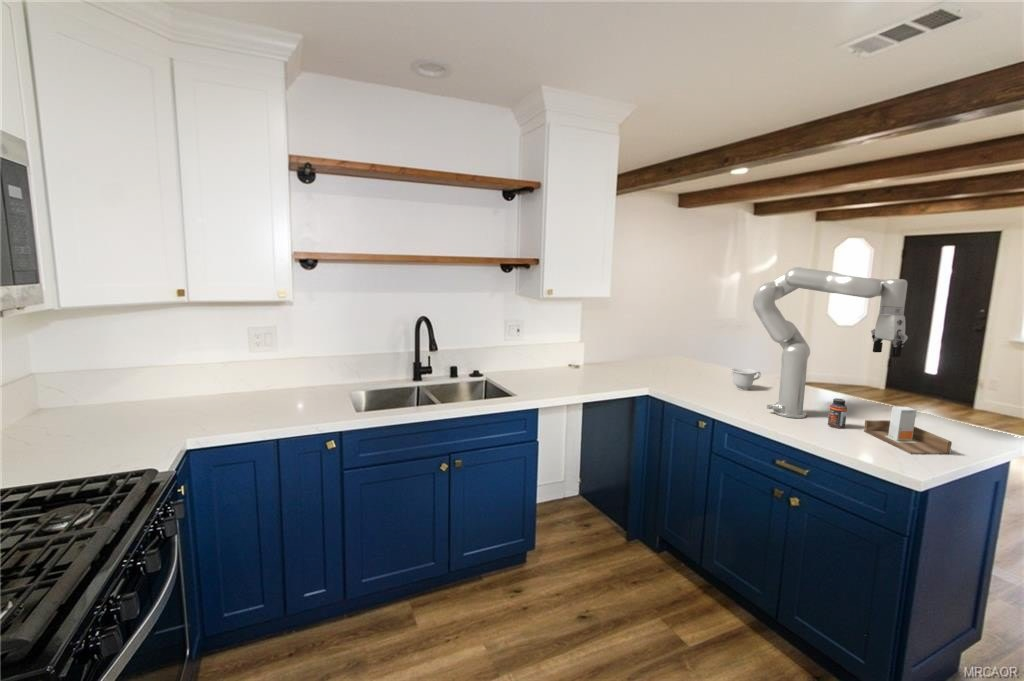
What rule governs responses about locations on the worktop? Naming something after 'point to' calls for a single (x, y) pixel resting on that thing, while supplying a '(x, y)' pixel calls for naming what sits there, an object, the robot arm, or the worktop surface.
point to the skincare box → (902, 423)
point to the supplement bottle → (837, 413)
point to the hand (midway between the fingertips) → (886, 354)
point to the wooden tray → (919, 444)
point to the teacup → (744, 377)
